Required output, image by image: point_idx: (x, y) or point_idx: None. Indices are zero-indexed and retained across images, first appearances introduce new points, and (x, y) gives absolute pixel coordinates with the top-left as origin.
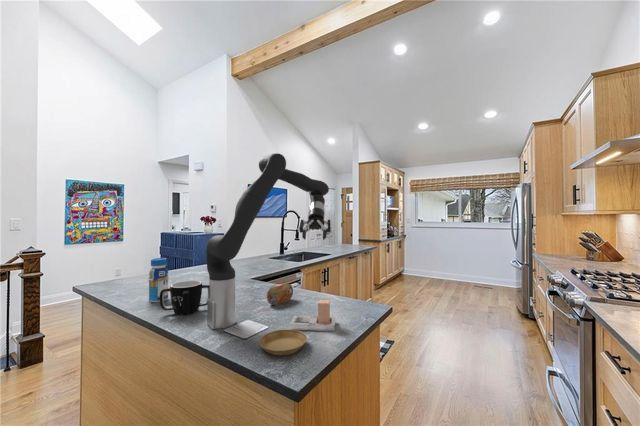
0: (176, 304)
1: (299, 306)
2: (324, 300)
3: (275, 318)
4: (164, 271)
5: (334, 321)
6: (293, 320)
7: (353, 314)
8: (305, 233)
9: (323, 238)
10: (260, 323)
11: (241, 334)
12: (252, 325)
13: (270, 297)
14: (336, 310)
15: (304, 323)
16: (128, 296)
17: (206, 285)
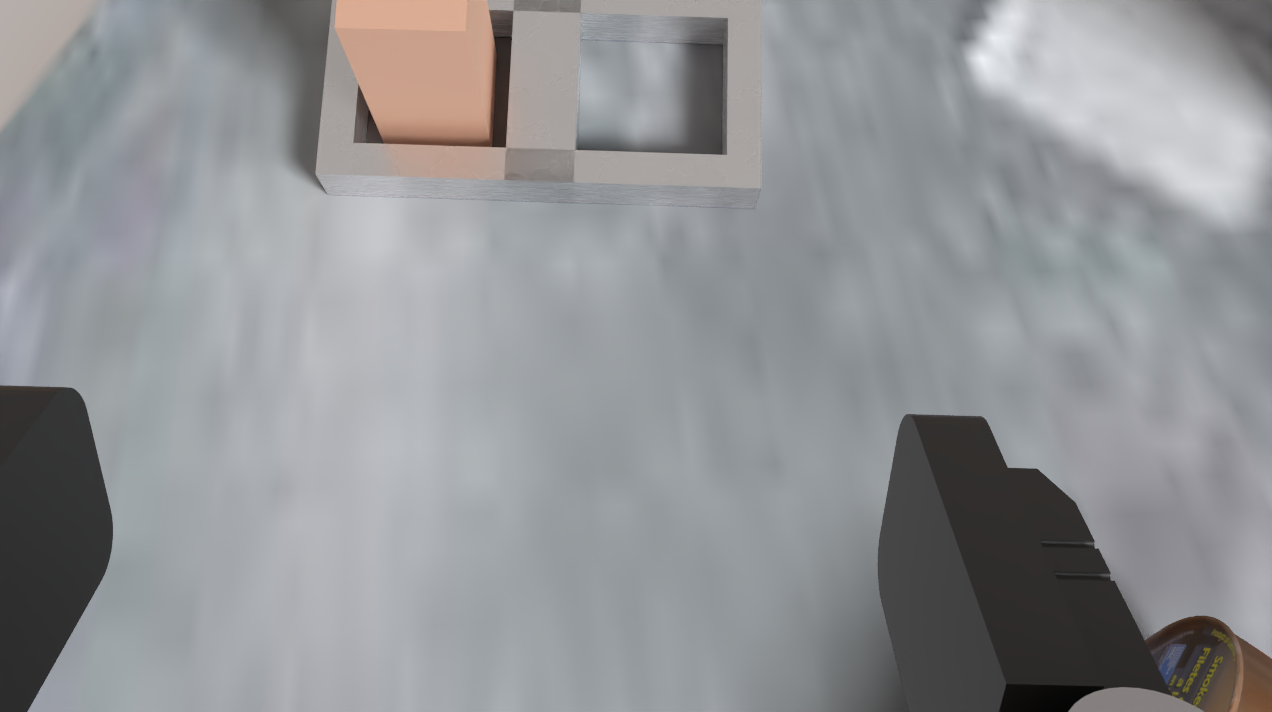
0: None
1: (775, 678)
2: (398, 11)
3: (963, 267)
4: None
5: (331, 60)
6: (741, 66)
7: (106, 425)
8: (950, 575)
9: (73, 462)
10: (1070, 137)
11: None
12: (1128, 89)
13: (1202, 638)
14: (296, 550)
15: (622, 4)
16: None
17: None
